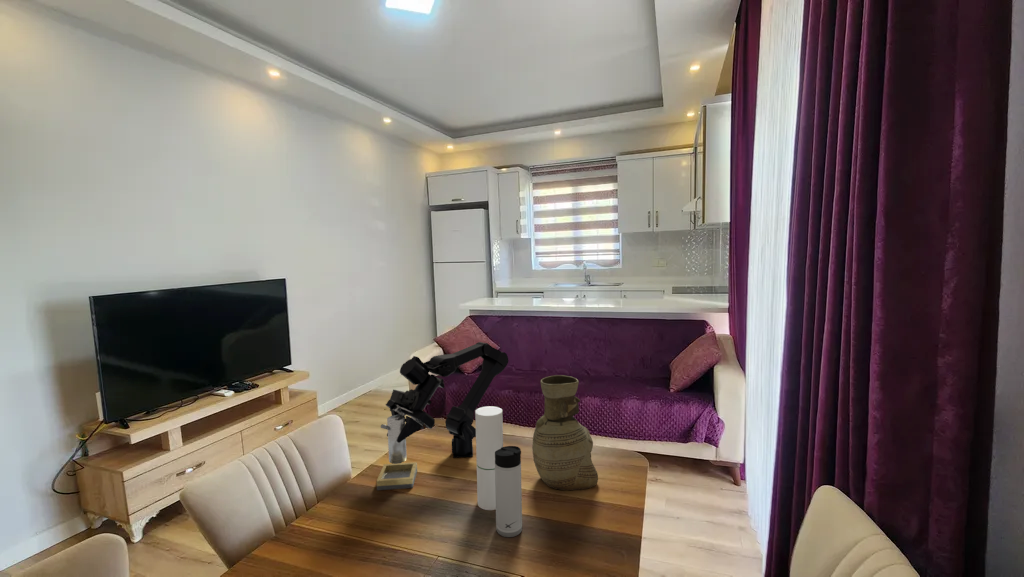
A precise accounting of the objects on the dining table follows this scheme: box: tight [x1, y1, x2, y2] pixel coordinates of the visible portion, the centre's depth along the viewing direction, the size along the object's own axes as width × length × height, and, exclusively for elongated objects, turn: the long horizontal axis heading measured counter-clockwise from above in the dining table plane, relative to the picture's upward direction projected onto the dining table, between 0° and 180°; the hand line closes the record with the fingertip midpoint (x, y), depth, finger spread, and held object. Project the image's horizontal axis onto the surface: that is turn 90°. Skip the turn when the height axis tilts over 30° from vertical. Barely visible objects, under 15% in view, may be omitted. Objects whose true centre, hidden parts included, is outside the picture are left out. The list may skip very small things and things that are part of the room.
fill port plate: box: [376, 461, 418, 491], centre depth 124 cm, size 10×10×3 cm
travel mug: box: [495, 445, 523, 538], centre depth 100 cm, size 6×7×20 cm
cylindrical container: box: [474, 405, 504, 511], centre depth 111 cm, size 7×7×25 cm
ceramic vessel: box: [531, 374, 599, 491], centre depth 123 cm, size 19×21×30 cm
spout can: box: [380, 415, 408, 464], centre depth 121 cm, size 7×5×12 cm
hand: (392, 439), depth 121 cm, fingers closed on spout can, 5 cm apart
